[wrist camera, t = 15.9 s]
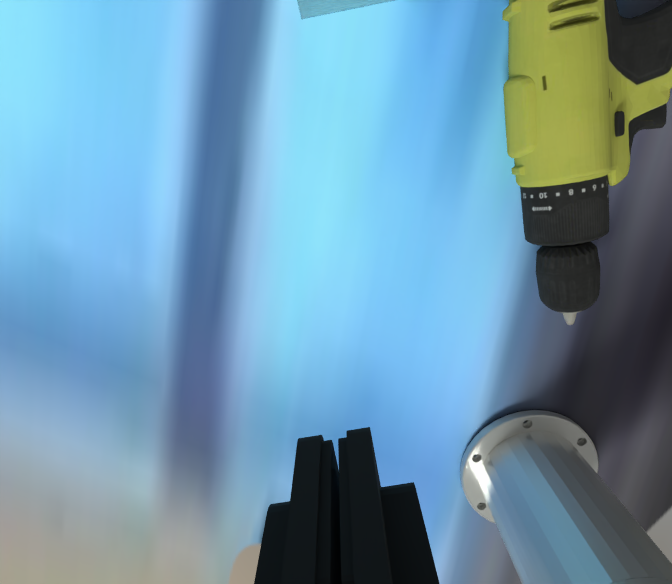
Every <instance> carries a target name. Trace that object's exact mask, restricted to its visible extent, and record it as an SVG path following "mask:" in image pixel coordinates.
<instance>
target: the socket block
mask: <svg viewBox="0 0 672 584" xmlns="http://www.w3.org/2000/svg"><path fill="white" fill-rule="evenodd" d="M389 1H394V0H297V2H298V6H299V11H300V15H301V19H305V18H310V17H315V16H320V15H325V14H330V13H335V12H340V11H345V10H350V9H355V8H360V7H364V6H369V5H374V4H379V3H384V2H389Z"/></svg>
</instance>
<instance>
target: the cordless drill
mask: <svg viewBox="0 0 672 584" xmlns="http://www.w3.org/2000/svg"><path fill="white" fill-rule="evenodd" d="M503 20H505V21H508V22H509V52H508V67H509V80H507V81H506V82H505V84H504V89H503V90H504V106H505V121H506V137H507V152H508V155H509V156H510V157H511V158H514V161H515V166H514V167H513V168H512V174H514V175H516V182H517V184H518V185H519V186H520V189H521V200H522V212H523V224H524V233H525V239H526V240H527V241H528V242H530V243H532V244H536V245H543V246H542V247H541V248H540V249H539V250H538V251H537V259H536V275H537V282H538V289H539V296H540V299H541V301H542V302H543V303H544V304H545V305H546V306H547V307H549V308H550V309H552V310H554V311H557V312H560V313H563V316H564V319H565V321H566V323H567V324H568V325H573V324H574V322H575V318H576V313H577V312H580V311H583V310H586V309H587V308H589V307H590V306H592V305H593V304H594V303H595V301H596V300H597V298H598V296H599V290H600V263H599V258H598V252H597V247H596V246H595V245H594V244H593V243H591V242H590V241H593V240H596V239H599V238H601V237H603V236H604V235H606V234H607V233H608V232H609V196H608V183H609V185H611V186H613V185H616V184H617V183H619V182H620V181H622V180H623V179H624V178H625V177H626V176H627V174H628V171H629V166H630V152H631V146H632V141H633V137H634V135H635V134H636V133H637V132H638V131H639V130H642V129H654V128H662V127H663V126H664V125H665V124H666V112H667V111H666V103H667V102H668V100H669V97H670V89H671V87H672V0H669V1H667V2H666V3H664V4H662V5H661V6H659V7H657V8H655V9H653V10H651V11H649V12H647V13H645V14H642V15H640V16H638V17H634V18H623V17H622V16H620V15H619V13H618V9H617V4H616V0H509V6H508V7H507V8H506V9H505V10H504V11H503Z"/></svg>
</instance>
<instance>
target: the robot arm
mask: <svg viewBox="0 0 672 584" xmlns="http://www.w3.org/2000/svg"><path fill="white" fill-rule="evenodd" d="M338 446H339V470H338V465H337V461H336V456H335V451H334V447H333V442H332V440H328V441H324V440H323V437H322V435H318V436H311V437H305V438H299V439H298V442H297V449H296V458H295V466H294V474H293V483H292V491H291V499H290V501H289V502H283V503H276V504H271V505H270V506H269V508H268V511H267V516H266V521H265V527H264V532H263V538H262V543H261V549H260V555H259V560H258V566H257V571H256V577H255V583H254V584H439V580H438V576H437V572H436V568H435V564H434V560H433V556H432V552H431V548H430V544H429V540H428V536H427V532H426V528H425V524H424V520H423V516H422V512H421V508H420V504H419V500H418V496H417V492H416V488H415V485H414V482H413V483H407V484H400V485H394V486H387V487H381V486H380V480H379V475H378V469H377V464H376V458H375V453H374V447H373V442H372V436H371V431H370V427H368V428H361V429H355V430H349V431H347V437H346V438H340V439H338ZM598 464H599V463H598V455H597V451H596V449H595V446H594V443H593V442H592V440H591V439H590V437H589V436H588V435H587V433H586V432H585V431H584V430H583V429H582V428H581V427H580V426H579V425H578V424H576V423H575V422H574V421H572V420H571V419H569V418H567V417H565V416H563V415H560V414H558V413H554V412H549V411H542V410H529V411H520V412H516V413H513V414H509V415H506V416H504V417H502V418H500V419H498V420H495V421H494V422H492V423H491V424H489V425H488V426H486V427H485V428H483V429H482V430H481V431H480V432H479V433H478V434H477V435H476V436H475V437H474V439H473V440H472V441H471V443H470V444H469V445H468V447H467V449H466V451H465V453H464V455H463V458H462V462H461V467H460V480H461V484H462V488H463V491H464V493H465V495H466V498H467V500H468V502H469V503H470V505H471V506H472V508H473V509H474V510H475V511H476V512H477V513H478V514H480V515H481V516H482V517H484V518H485V519H487V520H489V521H490V522H493V523H496V525H497V528H498V530H499V532H500V534H501V537H502V539H503V541H504V543H505V546H506V548H507V550H508V552H509V555H510V557H511V559H512V561H513V564H514V566H515V568H516V571H517V573H518V575H519V577H520V580H521V582H522V584H672V563H671V562H670V561H669V560H668V558H667V557H666V556H665V555H664V554H663V553H662V551H661V550H660V549H659V548H658V546H657V545H656V544H655V543H654V542H653V540H652V539H651V538H650V537H649V536H648V534H647V533H646V532H645V531H644V530H643V528H642V527H641V526H640V525H639V524H638V522H637V521H636V520H635V519H634V518H633V516H632V515H631V514H630V513H629V512H628V510H627V509H626V508H625V507H624V505H623V504H622V503H621V502H620V501H619V499H618V498H617V497H616V496H615V495H614V493H613V492H612V491H611V490H610V489H609V487H608V486H607V485H606V484H605V483H604V481H603V480H602V479H601V478H600V477H599V475H598Z"/></svg>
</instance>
